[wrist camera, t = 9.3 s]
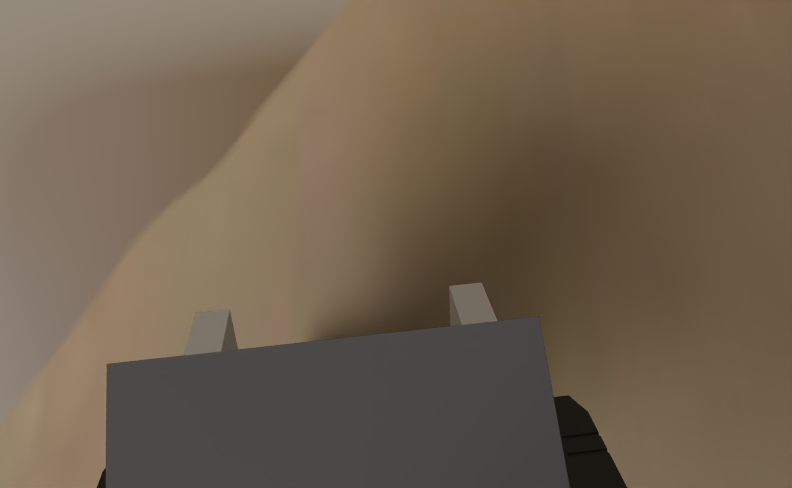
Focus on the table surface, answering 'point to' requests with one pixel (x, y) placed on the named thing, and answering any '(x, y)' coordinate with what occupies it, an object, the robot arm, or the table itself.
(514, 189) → the table surface
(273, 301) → the table surface
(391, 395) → the dark grey rectangular block
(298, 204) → the table surface
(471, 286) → the robot arm
